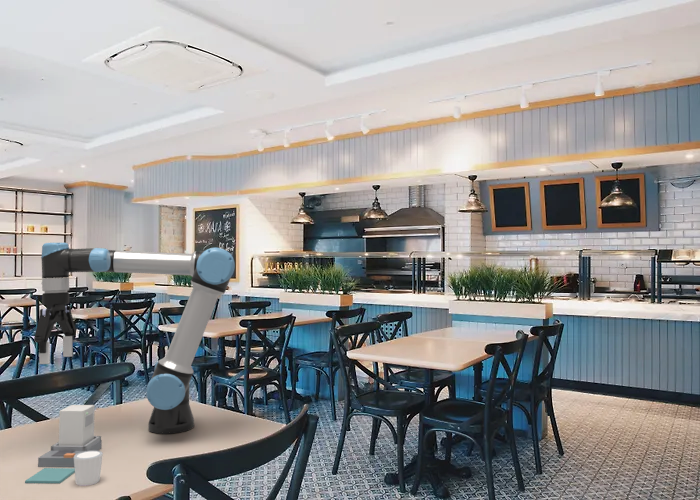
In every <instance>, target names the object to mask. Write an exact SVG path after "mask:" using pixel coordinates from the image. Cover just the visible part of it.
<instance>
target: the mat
mask: <svg viewBox="0 0 700 500" xmlns="http://www.w3.org/2000/svg"><path fill="white" fill-rule="evenodd" d="M73 474H75V467H43V468H42V469H41V470H39V471H38V472H36V473H35V474H33V475H32V476H30V477H29V478H27V479H26V480H24V484H61V483H63V482H64V481H65V480H66V479H68V478H69V477H70V476H72V475H73Z"/></svg>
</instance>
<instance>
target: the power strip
mask: <svg viewBox="0 0 700 500" xmlns="http://www.w3.org/2000/svg"><path fill="white" fill-rule="evenodd" d="M102 443H103V442H102V436H101V435H94V439H93V440H92V441H90V442H89V443H87V444H86V445H84V446H59V441H57V442H56V443H54V444H52V445H50V450H48V451H47V452H46V453H44V454H42V455H41V456H39V457H38V458H37V467H38V468H75V467H74V456H75V455H76V454H78V453H81V452H85V451H93V450H94V451H101V449H102V447H103V446H102Z"/></svg>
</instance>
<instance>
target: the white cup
mask: <svg viewBox="0 0 700 500" xmlns="http://www.w3.org/2000/svg"><path fill="white" fill-rule="evenodd" d="M103 455H104V453H103V452H102V451H101V450H98V451H94V450H93V451H85V452H81V453H78V454H76V455H75V456H74V467H73V468H75V473H74V477H75V478H74V479H75V484H76V485H77V486H81V487H84V486H86V487H87V486H91V485H95V484H97V483H99V482H100V481H101V471H102V466H103V465H102V464H103V457H104V456H103Z"/></svg>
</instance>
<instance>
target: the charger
mask: <svg viewBox="0 0 700 500" xmlns="http://www.w3.org/2000/svg"><path fill="white" fill-rule="evenodd" d="M95 407H96V406H95V404H70V405H69V406H67V407H65V408H62V409H60V410H59V413H58V414H59V416H58V417H59V419H58V423H59V424H58V442H59V446H84V445H86V444H87V443H89V442H90V441H92V440H93V439H94V436H95Z"/></svg>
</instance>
